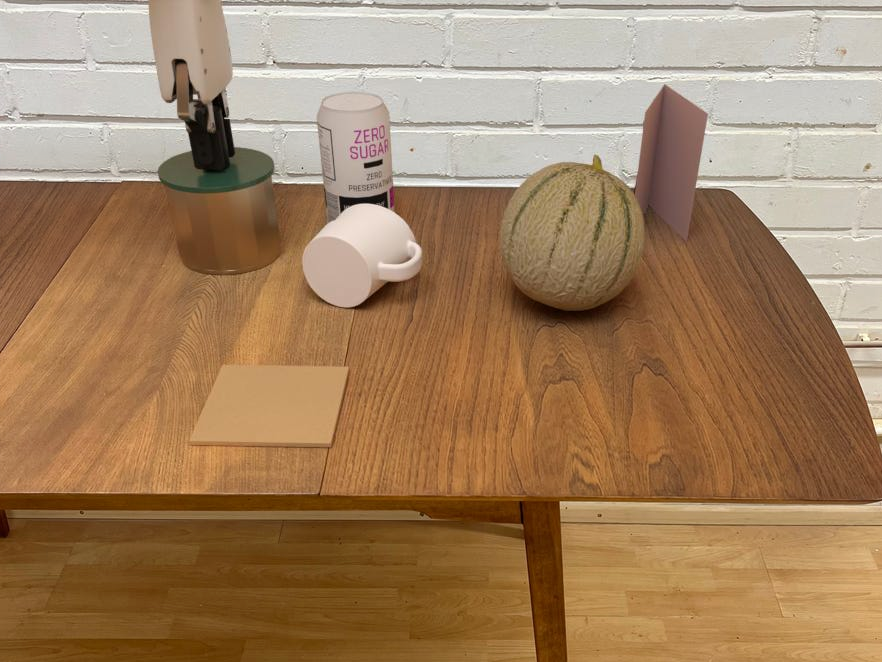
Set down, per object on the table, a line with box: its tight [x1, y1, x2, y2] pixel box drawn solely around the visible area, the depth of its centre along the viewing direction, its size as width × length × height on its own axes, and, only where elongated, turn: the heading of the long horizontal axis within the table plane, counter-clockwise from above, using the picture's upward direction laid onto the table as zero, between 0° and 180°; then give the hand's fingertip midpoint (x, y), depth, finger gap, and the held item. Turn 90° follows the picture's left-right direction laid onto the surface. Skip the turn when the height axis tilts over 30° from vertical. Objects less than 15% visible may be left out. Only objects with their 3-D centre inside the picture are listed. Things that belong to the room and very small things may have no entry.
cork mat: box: [188, 364, 350, 448], centre depth 80 cm, size 12×12×1 cm
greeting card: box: [633, 83, 709, 243], centre depth 106 cm, size 11×7×15 cm, turn 160°
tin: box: [163, 174, 282, 276], centre depth 101 cm, size 11×11×10 cm
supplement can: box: [316, 91, 396, 224], centre depth 104 cm, size 8×8×15 cm
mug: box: [301, 204, 423, 308], centre depth 94 cm, size 12×9×8 cm
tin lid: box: [157, 105, 276, 193], centre depth 96 cm, size 12×12×7 cm
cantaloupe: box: [499, 154, 646, 312], centre depth 91 cm, size 15×15×15 cm
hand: (215, 160), depth 97 cm, fingers closed on tin lid, 3 cm apart
